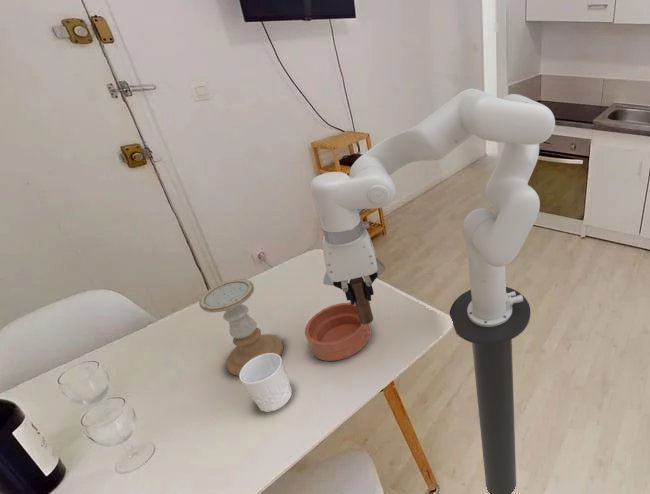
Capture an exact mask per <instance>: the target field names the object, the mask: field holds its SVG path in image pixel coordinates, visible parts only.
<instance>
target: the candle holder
mask: <svg viewBox="0 0 650 494" xmlns="http://www.w3.org/2000/svg"><path fill="white" fill-rule="evenodd" d="M254 291H255V286H254V283H253V282H252V281H250V280H249V279H246V278H245V279H242V278H238V279H230V280H227V281H224V282H222V283H218V284H216V285H214V286H213V287H211V288H209V289H208V290H207V291H205V292H204V293H203V294H202V296H201V297H200V299H199V307H200V309H201V310H203V311H204V312H206V313H222V312H224V313H223V315H222V318H223V320H224V321H226V322H228V329H229V330H228V331H229V335H230V337H232V344H233V345H234V346H235V348H234V349H233V350H232V351H230V353H229V355H228V357H227V359H226V362H225V363H226V365H225V366H226V369H227V371H228V372H229V373H230V374H231V375H232V376H237V377H239V374H240V371H241V369H242V368H243V366H244V365H245V364H246V363H247V362H249V361H250V360H251V359H253V358H255V357H257V356H259V355H262V354H266V353H275V354H278V355H279V356H280V357H281V356H282V354H283V352H284V342H283V340H282V339H281V338H280V337H279V336H277V335H276V334H262V330H261V329H260V328H259V327H258V326H257V325H258V324H257V322H256V320H255V319H254V318H253V317H251V316H250V314H249V306H247V305H245V304H243V303H245V302H246V301H248V300H249V299H250V298H251V297H252V296H253V294H254Z"/></svg>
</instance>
